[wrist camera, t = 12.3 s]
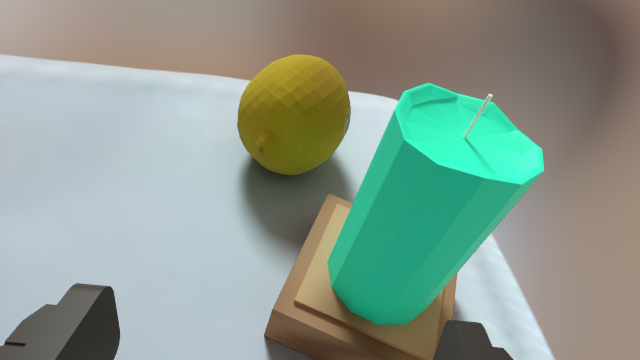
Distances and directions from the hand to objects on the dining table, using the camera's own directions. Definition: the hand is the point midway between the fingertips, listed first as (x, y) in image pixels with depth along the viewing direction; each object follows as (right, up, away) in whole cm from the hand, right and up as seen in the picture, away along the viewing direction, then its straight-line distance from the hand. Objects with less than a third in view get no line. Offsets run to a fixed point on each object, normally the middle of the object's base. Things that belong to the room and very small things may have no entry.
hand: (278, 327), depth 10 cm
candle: (+4, -2, +13) cm, 14 cm away
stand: (+4, -4, +15) cm, 16 cm away
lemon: (-2, +6, +23) cm, 24 cm away
